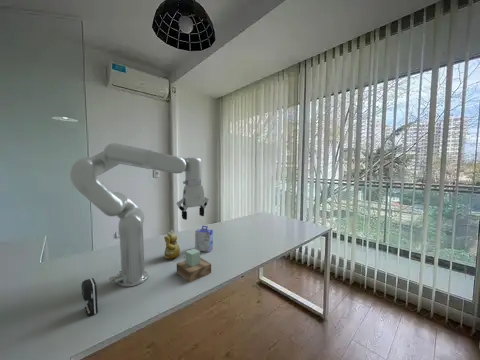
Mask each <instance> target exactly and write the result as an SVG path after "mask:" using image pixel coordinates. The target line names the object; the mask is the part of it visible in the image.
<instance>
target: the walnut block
mask: <svg viewBox="0 0 480 360" xmlns="http://www.w3.org/2000/svg"><path fill="white" fill-rule="evenodd" d="M176 273H177V274H178V275H179V276H181V277H182V278H183V279H185V280H186V281H187V282H189V283H192V282H194V281H196V280H198V279H199V280H200V279H201V278H203V277H205V276H207V275H209V274H211V273H212V263H211V262H209V261H207V260H206V259H203V258H202V257H200V264H197V265H195V266H193V267H191V266H189V265H188V264H186V259H185V260H183V261H179V262H177V263H176Z"/></svg>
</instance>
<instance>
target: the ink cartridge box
mask: <svg viewBox="0 0 480 360" xmlns="http://www.w3.org/2000/svg"><path fill="white" fill-rule="evenodd" d="M194 232H195V233H194V234H195V235H194V245H195V246H194V249H196V250H198V251H200V252H207V253H210V252H212V250H213V246H214V245H213V243H214V239H213V238H214V230H213V229H208V226H207V225H202V227H201V229H200V228H198V229H196V230H195V231H194Z"/></svg>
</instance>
